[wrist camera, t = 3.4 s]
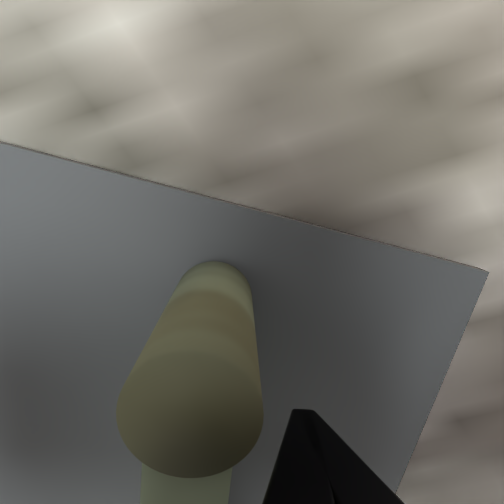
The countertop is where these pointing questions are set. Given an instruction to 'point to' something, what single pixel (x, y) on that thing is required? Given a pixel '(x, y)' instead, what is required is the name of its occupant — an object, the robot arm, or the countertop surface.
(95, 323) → the card
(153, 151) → the countertop surface
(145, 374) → the folding panel
